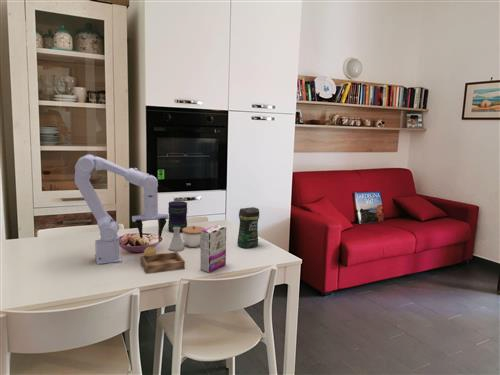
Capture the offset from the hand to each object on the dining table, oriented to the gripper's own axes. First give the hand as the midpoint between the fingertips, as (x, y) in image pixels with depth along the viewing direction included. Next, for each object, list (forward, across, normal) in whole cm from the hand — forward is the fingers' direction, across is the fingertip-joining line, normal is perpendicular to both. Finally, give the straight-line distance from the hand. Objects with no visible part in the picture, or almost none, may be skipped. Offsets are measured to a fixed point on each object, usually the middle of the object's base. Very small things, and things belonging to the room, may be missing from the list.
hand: (150, 236), depth 165 cm
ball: (+9, 0, 0) cm, 9 cm away
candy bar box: (+10, +21, -19) cm, 30 cm away
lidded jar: (+10, +22, +11) cm, 27 cm away
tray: (+9, +3, -10) cm, 14 cm away
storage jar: (+10, +22, +37) cm, 44 cm away
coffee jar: (+9, +46, +1) cm, 47 cm away
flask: (+10, +14, +8) cm, 18 cm away
